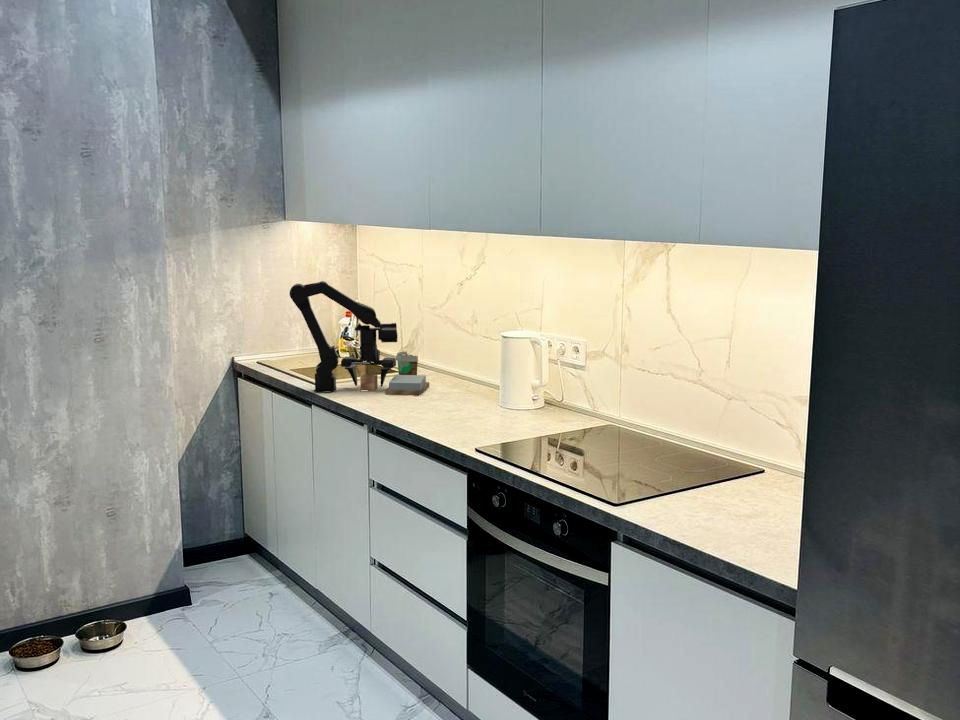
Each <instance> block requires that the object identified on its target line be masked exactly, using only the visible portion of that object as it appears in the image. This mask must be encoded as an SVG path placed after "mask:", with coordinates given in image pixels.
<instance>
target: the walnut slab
mask: <svg viewBox="0 0 960 720" xmlns="http://www.w3.org/2000/svg"><path fill="white" fill-rule="evenodd" d="M428 387H429V388H430V381H429V382H428V381H426V383H425V384H424V386H423V387H422V389H421V390H389V386H388V387H387V388H385V392H384V393H385V395H386V396H387V395H388V396H390V395H391V396H408V395H417V396H416V397H420V396H421V395H422V394H423V393H425V392H426V391H427V390H428V389H429V388H428ZM427 388H428V389H427ZM426 389H427V390H426ZM419 395H420V396H419Z"/></svg>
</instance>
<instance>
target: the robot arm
mask: <svg viewBox="0 0 960 720" xmlns="http://www.w3.org/2000/svg"><path fill="white" fill-rule="evenodd" d="M319 294H321V295H324V296H325V297H327V298H329V299H330V300H331V301H334V302H335V303H336V304H338V305H339V306H342V307H343V308H345V310H348V311H349V312H351V313H352V315H354V316H355V317H356V318H357V319H358V320H359V321H360V322H361V323H362V324H364V325H362V324H361V323H357V325H356V326H355V327H354V331H356V332H359V356H360V357H359V359H356V356H345V357H343V358H342V359H341V361H340V366H341V368H344V369H345V370H347V372H348V373H349V375H350V377H351V378H352V381H353V384H354V385H355V387H357V386H358V375H357V366H359V365H362V366H363V365H364V366H381V368H380V388H381V387H383V386H384V382H385V380H386V376H387V375H388V372H389V371H390V370H392V369H393V368H394V367H396V366H397V360H396V357H383V358H382V359H381V355H380V354H381V350H379V349H378V345H377V340H378V341H379V340H380V341H381V343H383V344H384V343H398V327H397V323H396V322H392V323H382V322H381V321H380V320H379V319H378V318H377V314H376V311H375V309H374V308H373V307H371V306H369V305H366V304H364V303H361V302H358V301H356V300H354V299H352V298H351V297H349V296H348V295H346V294H344V293H343V292H341V291H340V290H338V289H336V288H335V287H333V286H332V285H329V283H328V282H327V281H325V280H324V281H323V280H321V281H319V282H314V283H308V284H302V283H296V284H293V285H292V286H291V288H290V289H289V296H290V299H291V301H292V302H293V303H294V304H295V306H296V307H297V309H298V310H299V311H300V312H301V314H302V316H303V318H304V321H305V323H306V326H307V328H308V330H309V331H310V334H311V337H312V338H313V340H314V343H315V344H316V345H315V346H316V347H317V350H318V355H319V359H320V362H319V363H318V364H316V367H315V372H316V373H314V389H313V392H314V391H332V392H334V391H335V390H336V389H337V377H336V376H335V372H333V371H334V370H335V369H336V368H337V367H338V366H339V358H340V355H339V353H338V352H337V350H336V346H335V344H334V345H330V344H329V342H328V341H327V338H326V336H325V334H324V332H323V330H322V328H321V325H320V323H319V322H318V321H319V320H317V317H316V315H315V313H314V310H313V308H312V305H311V301H310V297H313V296H317V295H319ZM370 325H371V326H372V327H371V326H370ZM377 338H378V339H377ZM334 389H335V390H334ZM333 390H334V391H333Z"/></svg>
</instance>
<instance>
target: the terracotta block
mask: <svg viewBox="0 0 960 720" xmlns="http://www.w3.org/2000/svg"><path fill="white" fill-rule="evenodd" d="M359 378H360V381H359V382H360V387H359V388H360V391H361V390H368V391H367V392H375V391H377V390H378V387H379V386H378V383H379V382H378V375H377V374H362V376H360V377H359ZM376 389H377V390H376Z"/></svg>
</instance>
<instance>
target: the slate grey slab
mask: <svg viewBox="0 0 960 720" xmlns="http://www.w3.org/2000/svg"><path fill="white" fill-rule="evenodd" d="M426 377H427V375H422V374H417V375H399V374H395V375H394V376H393V377H392V379H390V381H388V387H389V390H421V389H422V387H423V386H424V384H425V383H426V382H427V378H426Z"/></svg>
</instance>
